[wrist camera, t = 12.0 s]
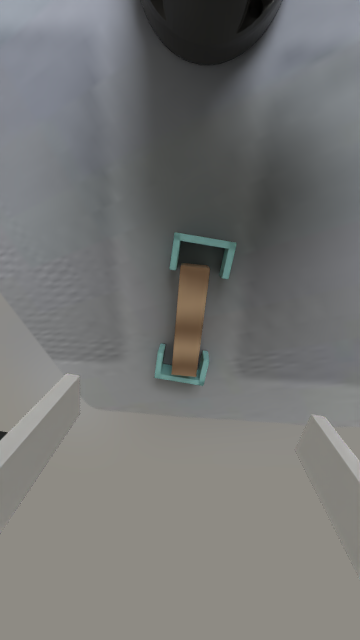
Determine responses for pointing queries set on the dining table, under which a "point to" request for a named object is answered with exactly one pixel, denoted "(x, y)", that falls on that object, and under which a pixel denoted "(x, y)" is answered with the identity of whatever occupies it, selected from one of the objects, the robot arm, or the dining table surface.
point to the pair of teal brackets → (165, 370)
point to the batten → (189, 318)
